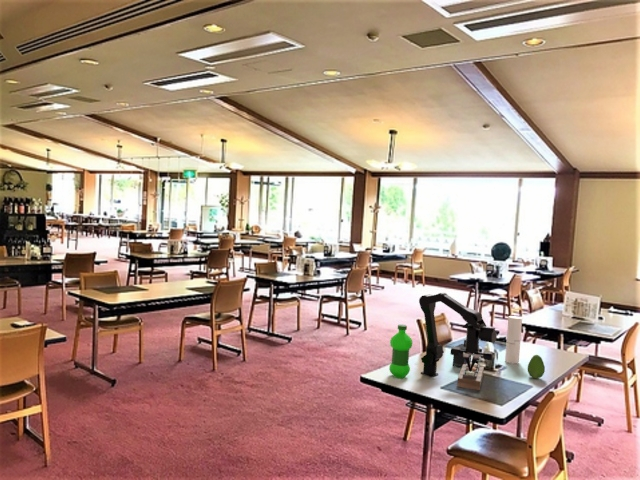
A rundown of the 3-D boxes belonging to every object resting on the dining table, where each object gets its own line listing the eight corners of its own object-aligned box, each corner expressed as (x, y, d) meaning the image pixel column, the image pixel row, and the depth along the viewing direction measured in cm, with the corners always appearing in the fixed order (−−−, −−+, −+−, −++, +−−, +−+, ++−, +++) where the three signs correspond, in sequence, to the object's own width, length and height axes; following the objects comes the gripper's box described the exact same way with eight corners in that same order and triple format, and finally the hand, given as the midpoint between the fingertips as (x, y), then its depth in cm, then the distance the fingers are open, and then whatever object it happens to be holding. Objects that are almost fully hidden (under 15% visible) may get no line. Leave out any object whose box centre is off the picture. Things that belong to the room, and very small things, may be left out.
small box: (463, 369, 270) (465, 349, 270) (452, 366, 274) (453, 346, 274) (471, 365, 279) (472, 345, 278) (459, 362, 283) (461, 343, 282)
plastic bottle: (395, 371, 259) (398, 322, 258) (413, 376, 253) (417, 326, 251) (384, 375, 252) (387, 324, 250) (403, 381, 245) (406, 329, 244)
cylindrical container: (520, 364, 286) (524, 319, 284) (507, 363, 286) (511, 318, 284) (516, 360, 293) (519, 316, 291) (503, 359, 293) (506, 315, 292)
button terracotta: (475, 373, 249) (475, 369, 249) (466, 371, 251) (466, 368, 251) (475, 371, 253) (476, 367, 253) (467, 369, 254) (467, 366, 254)
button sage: (473, 377, 242) (474, 374, 242) (465, 376, 243) (465, 372, 243) (474, 375, 245) (474, 371, 245) (465, 374, 247) (466, 370, 247)
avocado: (533, 381, 256) (535, 357, 256) (523, 376, 264) (525, 352, 263) (547, 380, 258) (549, 356, 258) (537, 375, 266) (538, 352, 265)
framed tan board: (479, 390, 238) (480, 378, 238) (457, 386, 242) (457, 374, 241) (483, 374, 262) (484, 363, 262) (462, 371, 266) (463, 360, 266)
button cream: (476, 368, 257) (476, 365, 257) (468, 367, 258) (468, 364, 258) (477, 366, 260) (477, 363, 260) (468, 365, 262) (469, 361, 262)
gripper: (494, 337, 247) (492, 370, 248) (454, 332, 254) (452, 363, 255) (493, 342, 237) (490, 376, 238) (451, 337, 244) (449, 370, 245)
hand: (470, 371), depth 244 cm, fingers closed
